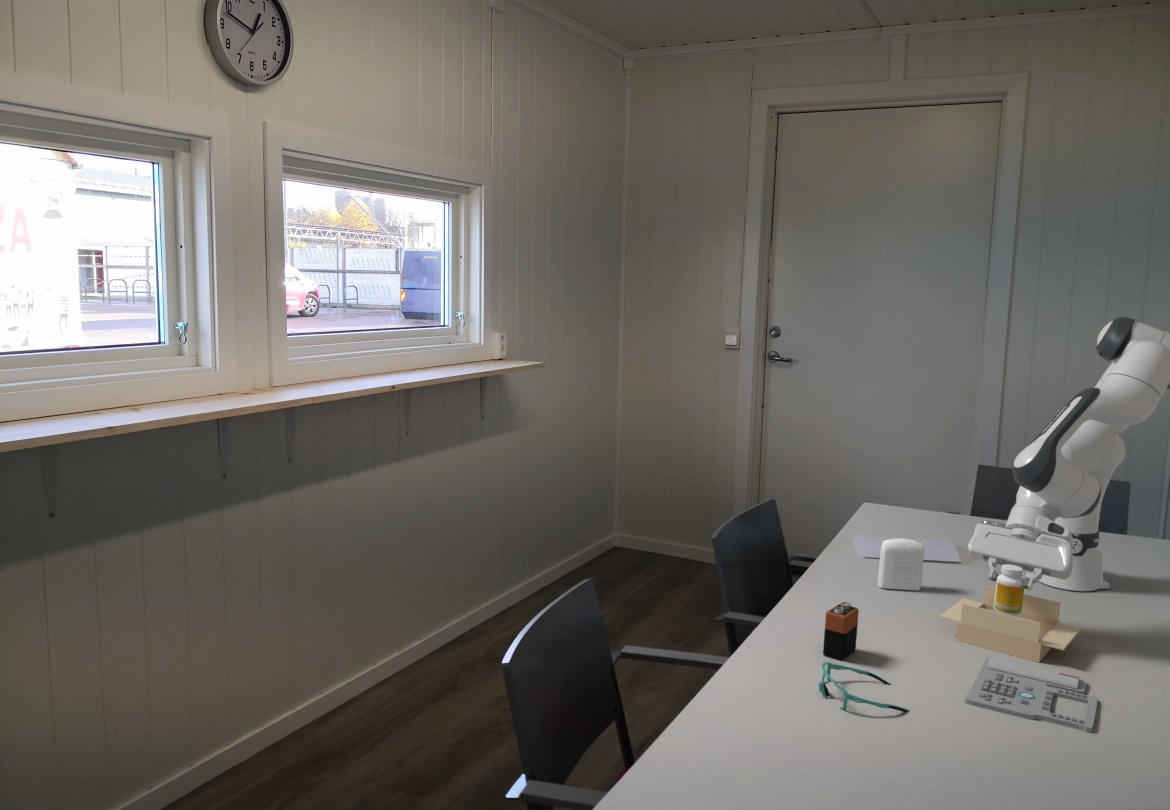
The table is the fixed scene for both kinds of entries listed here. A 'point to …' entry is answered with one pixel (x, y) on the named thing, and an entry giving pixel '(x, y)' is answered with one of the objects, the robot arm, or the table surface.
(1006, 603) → the supplement bottle
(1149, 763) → the table surface
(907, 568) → the photo printer
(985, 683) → the office telephone
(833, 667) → the sunglasses
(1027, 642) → the carton
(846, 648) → the battery
